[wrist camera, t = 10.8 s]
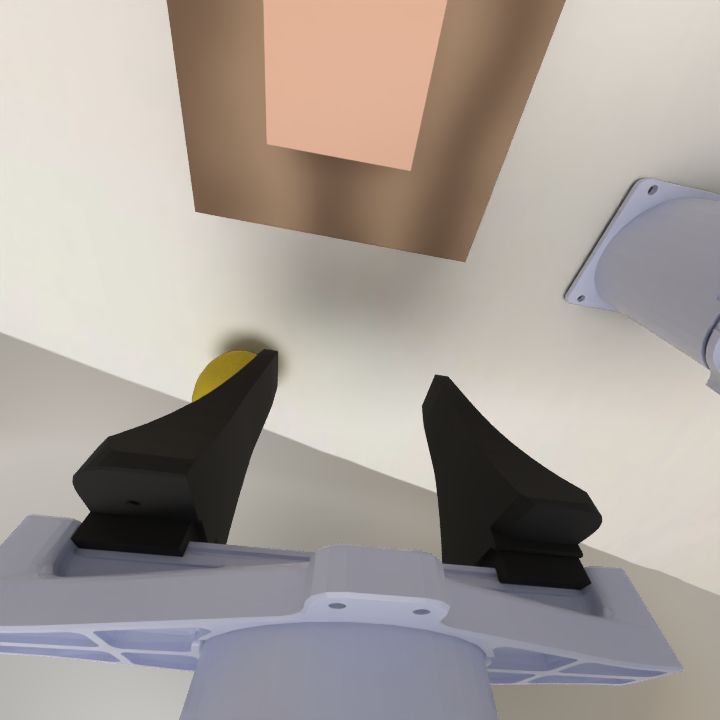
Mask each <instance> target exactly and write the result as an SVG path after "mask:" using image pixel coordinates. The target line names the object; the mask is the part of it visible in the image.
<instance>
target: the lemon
mask: <svg viewBox="0 0 720 720" xmlns="http://www.w3.org/2000/svg"><path fill="white" fill-rule="evenodd" d="M255 356H257V354H255V353H252V352H249V351H241V350H240V351H231V352H227V353H224V354H222V355H220V356H219V357H217V358H216V359H214V360H213V361H211V362H210V363H209V364H208V365H207V366H206V368H205V369H204V370H203V372H202V373H201V374H200V376H199V378H198V380H197V382H196V385H195V388H194V392H193V396H192V402H194V401H196V400H198V399H199V398H201V397H203V396H204V395H206V394H208V393H209V392H211V391H212V390H214V389H215V388H217V387H218V386H220V385H221V384H222V383H224V382H225V381H226V380H228V379H229V378H230V377H232V376H233V375H234V374H236V373H237V372H238V371H239V370H240V369H242V368H243V367H244V366H245V365H246V364H248V363H249V362H250V361H251V360H252V359H253V358H254V357H255Z"/></svg>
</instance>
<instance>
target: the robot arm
mask: <svg viewBox="0 0 720 720" xmlns="http://www.w3.org/2000/svg"><path fill="white" fill-rule="evenodd" d="M651 186H653V188H652V190H651V192H650V193H648V190H649V188H650V187H651ZM581 295H582V297H581V298H580V299H578V297H579V296H581ZM577 299H578V300H577ZM565 300H566V301H567V302H568V303H571V304H577V305H582V306H588V307H593V308H599V309H604V310H610V311H616V312H621V313H624V314H625V315H627V316H628V317H630V318H631V319H633V320H634V321H636V322H637V323H639V324H640V325H642V326H643V327H645V328H646V329H648V330H650V331H651V332H653V333H654V334H656V335H657V336H659V337H660V338H662V339H663V340H665V341H666V342H668V343H669V344H671V345H672V346H674V347H675V348H677V349H678V350H680V351H682V352H683V353H685V354H686V355H688V356H689V357H691V358H692V359H694V360H695V361H697V362H698V363H700V364H701V365H703V366H704V367H706V368H707V369H709V370H710V372H711V374H710V378H709V380H708V381H707V383H706V385H707V386H708V387H710V388H711V389H712V390H714V391H715V392H717V393H718V394H719V395H720V194H717V193H712V192H708V191H704V190H699V189H695V188H691V187H686V186H682V185H677V184H673V183H669V182H664V181H660V180H655V179H651V178H643V179H640V180H639V181H637V182H636V183H635V185H634V186H633V187H632V189H631V191H630V192H629V194H628V195H627V197H626V199H625V200H624V202H623V203H622V205H621V207H620V208H619V210H618V211H617V213H616V215H615V216H614V218H613V220H612V221H611V223H610V224H609V226H608V228H607V229H606V231H605V232H604V234H603V236H602V237H601V239H600V240H599V242H598V244H597V245H596V247H595V248H594V250H593V252H592V253H591V255H590V256H589V258H588V260H587V261H586V263H585V264H584V266H583V268H582V269H581V271H580V273H579V274H578V276H577V277H576V279H575V281H574V282H573V284H572V285H571V287H570V289H569V290H568V292H567V293H566V295H565ZM277 385H278V351H273V350H266V349H264V350H262V351H261V352H260V353H259V354H258V355H257V356H255V357H254V358H253V359H252V360H251V361H250V362H249V363H248V364H246V365H245V366H244V367H243V368H242V369H240V370H239V371H238V372H237V373H236V374H234V375H233V376H232V377H230V378H229V379H228V380H226V381H225V382H224V383H222V384H221V385H220V386H218V387H217V388H215V389H214V390H212V391H211V392H209V393H208V394H206V395H204V396H203V397H201V398H199V399H198V400H196V401H194V402H192V403H190V404H188V405H186V406H184V407H182V408H180V409H179V410H176V411H175V412H172V413H170V414H168V415H166V416H164V417H161V418H159V419H156V420H154V421H152V422H149V423H147V424H144V425H142V426H139V427H136V428H133V429H130V430H127V431H124V432H122V433H119V434H116V435H113V436H110V437H108V438H107V439H106V440H105V441H104V442H103V443H102V444H101V445H100V446H99V447H98V448H97V449H96V450H95V451H94V453H93V454H92V455H91V456H90V457H89V458H88V459H87V461H86V462H85V463H84V464H83V465H82V466H81V468H80V469H79V470H78V471H77V472H76V473H75V474H74V476H73V485H74V488H75V490H76V492H77V493H78V495H79V496H80V497H81V499H82V500H83V502H84V503H85V505H86V506H87V507H88V509H89V510H90V513H89V514H88V516H87V517H86V518H85V520H84V521H83V523H81V522H80V521H78V520H75V519H71V518H65V517H53V516H42V515H29V516H27V517H26V518H25V519H24V520H23V521H22V522H21V524H20V525H19V526H18V527H17V528H16V529H15V530H14V531H13V532H12V533H11V535H10V536H9V537H8V538H7V539H6V540H5V541H4V542H3V543H2V544H1V546H0V654H14V655H15V654H16V655H31V656H43V657H56V658H66V659H77V660H87V661H96V662H107V663H115V664H124V665H133V666H142V667H151V668H161V669H170V670H180V671H188V672H194V675H193V679H192V682H191V685H190V688H189V691H188V694H187V697H186V701H185V703H184V707H183V710H182V713H181V716H180V719H179V720H499V719H498V715H497V710H496V706H495V702H494V698H493V693H492V689H491V685H502V684H503V685H508V684H596V685H628V684H632V683H636V682H640V681H645V680H649V679H653V678H657V677H661V676H666V675H670V674H674V673H679V672H682V671H683V667H682V665H681V663H680V661H679V660H678V658H677V657H676V655H675V653H674V652H673V650H672V648H671V647H670V645H669V643H668V642H667V640H666V638H665V637H664V635H663V634H662V632H661V630H660V629H659V627H658V625H657V624H656V622H655V620H654V619H653V617H652V615H651V614H650V612H649V611H648V609H647V607H646V606H645V604H644V602H643V601H642V599H641V597H640V596H639V594H638V592H637V591H636V589H635V588H634V586H633V584H632V583H631V581H630V579H629V578H628V576H627V574H626V573H625V571H624V570H623V569H621V568H610V567H600V566H589V567H585V568H583V566H582V564H581V562H580V560H579V558H581V557H583V553H582V551H581V549H580V547H579V545H578V544H579V543H580V542H582V541H583V540H585V539H586V538H587V537H589V536H590V535H591V534H593V533H594V532H595V531H596V530H597V529H598V528H599V527H600V525H601V523H602V516H601V514H600V513H599V511H598V510H597V508H596V506H595V505H594V503H593V502H592V500H591V498H590V497H589V495H588V494H587V492H585V491H583V490H582V489H580V488H578V487H576V486H575V485H573V484H571V483H569V482H568V481H566V480H564V479H563V478H561V477H559V476H558V475H556V474H555V473H553V472H551V471H550V470H548V469H547V468H545V467H544V466H542V465H541V464H539V463H538V462H537V461H535V460H534V459H532V458H531V457H530V456H528V455H527V454H526V453H524V452H523V451H522V450H520V449H519V448H518V447H517V446H515V445H514V444H513V443H512V442H510V441H509V440H508V439H507V438H506V437H505V436H503V435H502V434H501V433H500V432H499V431H498V430H497V429H496V428H495V427H494V426H492V425H491V424H490V423H489V421H488V420H487V419H486V418H485V417H484V416H483V415H482V414H481V413H480V412H479V411H478V410H477V409H476V408H475V407H474V406H473V405H472V403H471V402H470V401H469V400H468V399H467V398H466V397H465V395H464V394H463V393H462V392H461V391H460V390H459V388H458V387H457V386H456V385H455V384H454V383H453V382H452V380H451V379H450V378H449V377H448V376H441V375H435V376H434V379H433V381H432V383H431V386H430V388H429V391H428V393H427V395H426V398H425V400H424V403H423V405H422V412H423V423H424V429H425V434H426V438H427V442H428V447H429V451H430V455H431V460H432V464H433V468H434V473H435V480H436V488H437V496H438V506H439V516H440V528H441V544H442V561H440V560H439V559H438V558H437V557H435V556H434V555H433V554H432V553H428V552H423V551H418V550H409V549H398V548H387V547H375V546H365V545H354V544H331V545H328V546H325V547H321V548H319V549H318V550H317V551H316V552H315V553H314V552H304V551H293V550H281V549H270V548H258V547H247V546H236V545H226V543H227V539H228V535H229V531H230V528H231V523H232V520H233V516H234V513H235V509H236V505H237V502H238V498H239V495H240V491H241V488H242V485H243V481H244V478H245V474H246V471H247V468H248V465H249V461H250V458H251V455H252V452H253V450H254V447H255V444H256V442H257V440H258V438H259V435H260V433H261V430H262V428H263V426H264V424H265V421H266V419H267V416H268V414H269V412H270V409H271V407H272V404H273V400H274V397H275V393H276V390H277Z"/></svg>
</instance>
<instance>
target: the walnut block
mask: <svg viewBox="0 0 720 720" xmlns="http://www.w3.org/2000/svg"><path fill="white" fill-rule="evenodd" d="M565 1H566V0H447V5H446V9H445V14H444V19H443V23H442V28H441V33H440V37H439V42H438V46H437V51H436V56H435V60H434V65H433V70H432V74H431V79H430V83H429V88H428V93H427V97H426V102H425V107H424V111H423V116H422V120H421V125H420V130H419V134H418V139H417V144H416V148H415V153H414V158H413V162H412V167H411V171H408V170H402V169H397V168H392V167H386V166H381V165H376V164H370V163H365V162H360V161H354V160H349V159H344V158H338V157H333V156H328V155H322V154H317V153H311V152H306V151H301V150H295V149H290V148H285V147H279V146H274V145H269V144H267V135H266V93H265V51H264V8H263V0H167V5H168V13H169V20H170V27H171V35H172V42H173V50H174V57H175V64H176V72H177V79H178V87H179V94H180V101H181V109H182V116H183V123H184V131H185V138H186V146H187V153H188V160H189V168H190V175H191V182H192V190H193V197H194V205H195V212H199V213H205V214H210V215H215V216H221V217H226V218H231V219H237V220H242V221H247V222H253V223H258V224H264V225H269V226H274V227H280V228H285V229H290V230H296V231H301V232H306V233H312V234H317V235H322V236H328V237H333V238H338V239H344V240H349V241H355V242H360V243H365V244H371V245H376V246H381V247H387V248H392V249H397V250H403V251H408V252H413V253H419V254H424V255H429V256H435V257H440V258H445V259H451V260H456V261H462V262H465V261H466V259H467V256H468V253H469V251H470V248H471V246H472V243H473V240H474V238H475V235H476V233H477V230H478V227H479V225H480V222H481V220H482V217H483V214H484V212H485V209H486V207H487V204H488V201H489V199H490V196H491V194H492V191H493V188H494V186H495V183H496V181H497V178H498V175H499V173H500V170H501V168H502V165H503V162H504V160H505V157H506V154H507V152H508V149H509V147H510V144H511V141H512V139H513V136H514V134H515V131H516V128H517V126H518V123H519V121H520V118H521V115H522V113H523V110H524V108H525V105H526V102H527V100H528V97H529V95H530V92H531V89H532V87H533V84H534V82H535V79H536V76H537V74H538V71H539V69H540V66H541V63H542V61H543V58H544V56H545V53H546V50H547V48H548V45H549V43H550V40H551V37H552V35H553V32H554V30H555V27H556V24H557V22H558V19H559V16H560V14H561V11H562V9H563V6H564V3H565Z"/></svg>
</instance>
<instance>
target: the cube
mask: <svg viewBox="0 0 720 720" xmlns="http://www.w3.org/2000/svg"><path fill="white" fill-rule="evenodd" d="M446 5H447V0H263V8H264V51H265V93H266V135H267V144H269V145H274V146H279V147H285V148H290V149H295V150H301V151H306V152H311V153H317V154H322V155H328V156H333V157H338V158H344V159H349V160H354V161H360V162H365V163H370V164H376V165H381V166H386V167H392V168H397V169H402V170H408V171H411V167H412V162H413V158H414V153H415V148H416V144H417V139H418V134H419V130H420V125H421V120H422V116H423V111H424V107H425V102H426V97H427V93H428V88H429V83H430V79H431V74H432V70H433V65H434V60H435V56H436V51H437V46H438V42H439V37H440V33H441V28H442V23H443V19H444V14H445V9H446Z"/></svg>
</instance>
